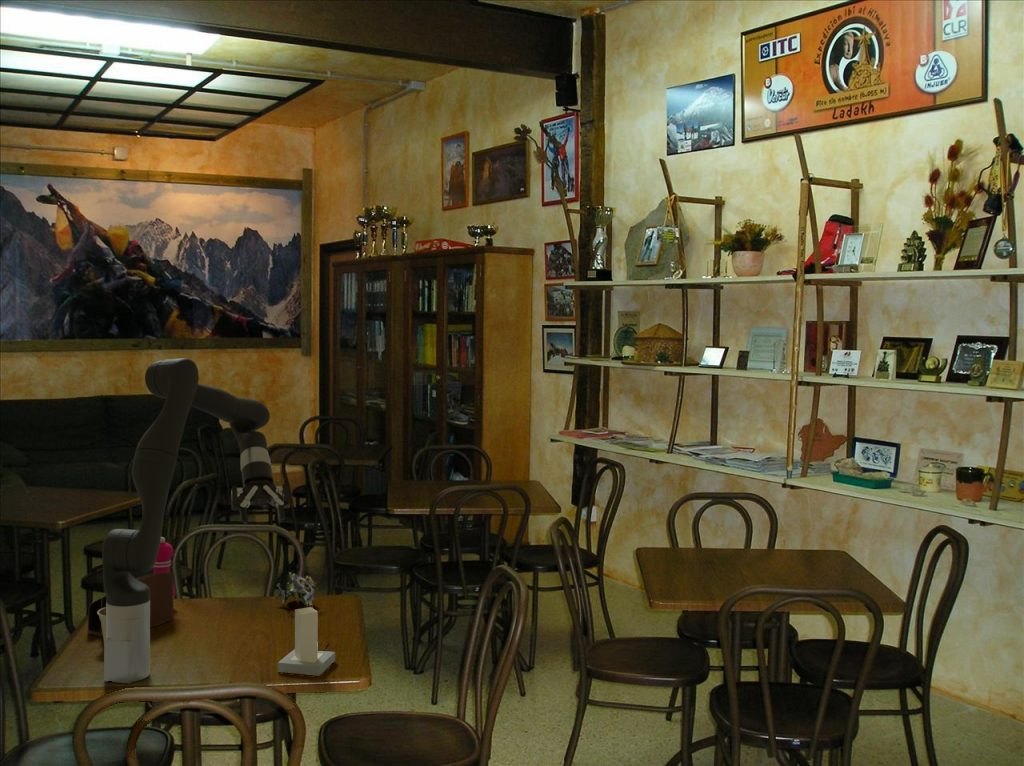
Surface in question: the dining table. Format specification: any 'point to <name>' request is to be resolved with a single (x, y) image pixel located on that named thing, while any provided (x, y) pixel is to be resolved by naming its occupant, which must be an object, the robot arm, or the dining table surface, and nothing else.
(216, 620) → the dining table surface
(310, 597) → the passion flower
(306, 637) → the pillar
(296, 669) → the slab
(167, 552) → the pepper mill
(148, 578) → the letter holder
